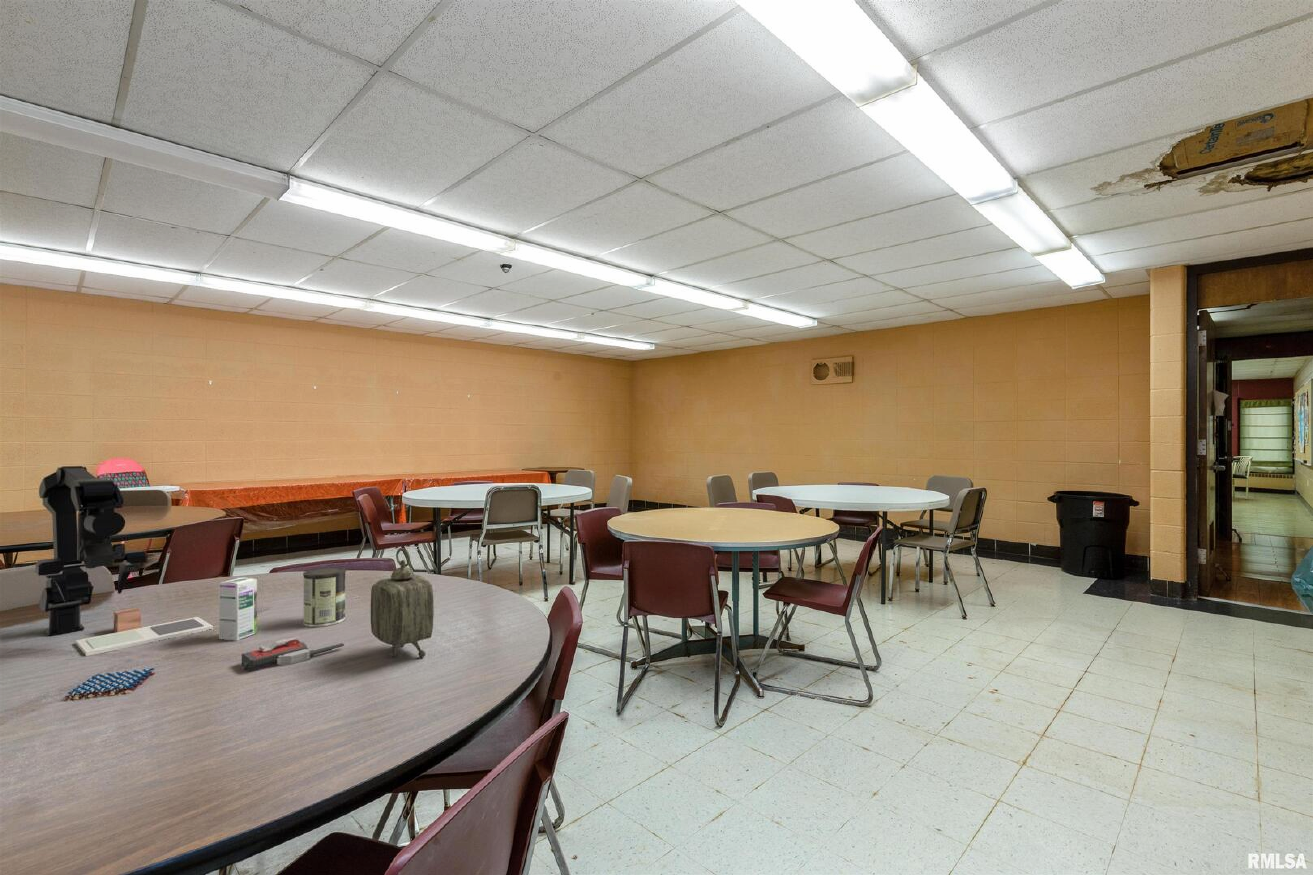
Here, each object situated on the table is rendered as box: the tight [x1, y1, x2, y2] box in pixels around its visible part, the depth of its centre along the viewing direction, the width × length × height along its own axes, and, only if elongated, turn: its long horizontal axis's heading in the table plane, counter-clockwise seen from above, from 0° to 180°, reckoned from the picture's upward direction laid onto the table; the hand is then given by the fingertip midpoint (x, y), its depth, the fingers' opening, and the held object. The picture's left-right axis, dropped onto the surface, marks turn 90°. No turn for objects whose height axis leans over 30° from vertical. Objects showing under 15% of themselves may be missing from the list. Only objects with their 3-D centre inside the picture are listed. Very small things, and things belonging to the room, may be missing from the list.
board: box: [75, 616, 214, 657], centre depth 145 cm, size 13×24×1 cm, turn 143°
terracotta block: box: [113, 607, 142, 633], centre depth 149 cm, size 4×4×5 cm
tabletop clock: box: [370, 547, 435, 658], centre depth 134 cm, size 14×9×25 cm, turn 47°
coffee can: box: [302, 566, 347, 628], centre depth 158 cm, size 10×10×14 cm
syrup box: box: [218, 576, 258, 642], centre depth 145 cm, size 6×6×14 cm
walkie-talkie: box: [241, 637, 345, 672], centre depth 132 cm, size 9×4×20 cm
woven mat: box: [65, 667, 156, 702], centre depth 116 cm, size 10×11×2 cm
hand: (93, 597), depth 137 cm, fingers open, 9 cm apart
